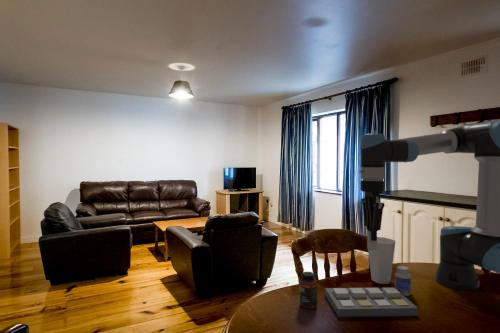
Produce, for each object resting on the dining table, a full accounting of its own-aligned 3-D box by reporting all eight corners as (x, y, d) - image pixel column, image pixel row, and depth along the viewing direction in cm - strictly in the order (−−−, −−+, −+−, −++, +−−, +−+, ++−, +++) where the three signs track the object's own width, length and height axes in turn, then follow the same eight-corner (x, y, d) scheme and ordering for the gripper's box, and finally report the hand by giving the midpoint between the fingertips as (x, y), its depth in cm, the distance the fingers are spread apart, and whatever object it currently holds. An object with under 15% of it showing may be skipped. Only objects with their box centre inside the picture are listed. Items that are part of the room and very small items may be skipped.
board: (393, 294, 116) (393, 286, 116) (417, 315, 100) (417, 307, 100) (325, 295, 115) (325, 287, 115) (338, 316, 99) (338, 308, 99)
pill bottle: (412, 296, 114) (413, 270, 113) (397, 295, 115) (397, 269, 114) (408, 290, 119) (408, 265, 119) (393, 289, 120) (393, 264, 120)
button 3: (361, 294, 112) (361, 287, 112) (366, 299, 107) (366, 293, 107) (349, 294, 112) (349, 288, 111) (353, 300, 107) (353, 293, 107)
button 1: (394, 294, 112) (394, 287, 112) (400, 299, 107) (400, 292, 107) (382, 294, 112) (382, 287, 112) (387, 299, 107) (387, 292, 107)
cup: (371, 274, 136) (372, 235, 136) (396, 279, 130) (397, 239, 130) (364, 282, 127) (364, 241, 127) (391, 288, 121) (391, 245, 121)
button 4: (344, 294, 112) (344, 288, 111) (349, 300, 107) (349, 293, 107) (332, 294, 111) (332, 288, 111) (336, 300, 107) (336, 293, 107)
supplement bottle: (318, 303, 109) (318, 271, 109) (316, 310, 103) (316, 277, 103) (301, 300, 111) (301, 269, 111) (298, 308, 105) (298, 275, 105)
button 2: (377, 294, 112) (377, 287, 112) (383, 299, 107) (383, 292, 107) (365, 294, 112) (365, 287, 112) (370, 299, 107) (370, 293, 107)
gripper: (354, 178, 110) (354, 244, 110) (369, 181, 97) (368, 255, 97) (375, 178, 110) (374, 244, 111) (392, 181, 97) (392, 255, 98)
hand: (372, 249), depth 104 cm, fingers closed
